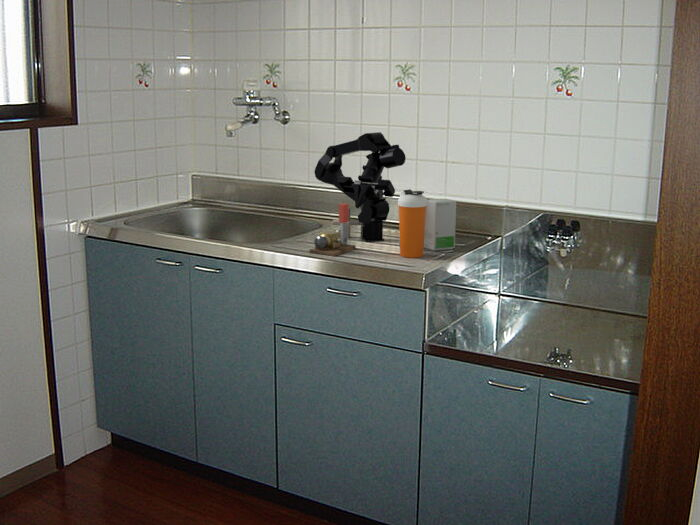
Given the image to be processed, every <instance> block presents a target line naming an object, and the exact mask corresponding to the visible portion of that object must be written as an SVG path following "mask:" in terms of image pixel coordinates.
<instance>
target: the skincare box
mask: <svg viewBox="0 0 700 525" xmlns="http://www.w3.org/2000/svg"><path fill="white" fill-rule="evenodd" d="M426 199H427V198H426ZM456 218H457V200H453V199H448V198H432V199H431V198H430V199H427V207H426V222H425V236H424V249H427V250H431V251H445V250H446V251H447V250H454V249H453V248H456V224H457V221H456V220H457V219H456Z"/></svg>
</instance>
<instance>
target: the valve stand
mask: <svg viewBox="0 0 700 525" xmlns="http://www.w3.org/2000/svg"><path fill="white" fill-rule="evenodd" d="M313 243H314V248H310V249H309V250H308V252H310V253H309V254H313V253H316V255H322V256H330V257H335V256H336V257H337V256H339V255H341V254H344V253H347V252H350V251H353V250H355V249H356V245H354V244H346V245H345V246H344V245H341V244H340V229H338V230H324V231H321V232H319V233H318V236H316V237H315V239H314V241H313Z"/></svg>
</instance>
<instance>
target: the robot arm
mask: <svg viewBox="0 0 700 525" xmlns="http://www.w3.org/2000/svg"><path fill="white" fill-rule="evenodd" d="M357 152H371V153H369V154H366V156H365V157H366V159H367V161H366V165H362V167H361V168H362V170H363V171H362V173H361V175H358V177H357V179H358V180H357V179H353V178H352V177H351V176H345V175H344V174H343V171H342V166H343V160H342V159H343V156H345V155H350V154H354V153H357ZM333 159H334V160H333ZM406 159H407V158H406V154H405V152H404V151H403V149H402V148H400V145H399V144H393V145H391V144H390V142H389V141H388V140H387V139H386V138H385V136H384V134H383V133H382V132H380V131H379V132H367V133H363V134H362V135H360V136H358V137H357V139H354V140H350V141H347V142H346V141H345V142H343V143H339V144H336V145H329V146H328V147H327V149H326V151H325V152H324V154H323V155H322V156H321V157H320V158H319V159H318V161H317V164H316V166H315V167H314V170H313V171H314V176H315V178H316V180H318V181H320V182H321V183H324V184H328V185H332V186H334V187H335V188H336V189H337V190H339V191H340V192H341V193H343V194H344V195H345V196H347V197H348V198H350V199H351V200H352V201H353V202H354V206H355V208H356V209H360V211H361V212H360V213H359V214H358V215H357V220H359V222H361V223H362V225H360V239H362V241H364V242H384V241H385V238H384V237H383V235H384V234H383V233H384V232H383V231H384V230H383V229H384V227H383V226H384V222H386V221H387V218H388V216H389V213H390V202H388V201H387V198H388V197H390V198H393V197H394V195H395V192H396V189H395V187H394V184H393V183H392V180H390V179H383V176H382V173H383V171H384V169H391V168H395V167H400V166H403V165H404V164H405V163H406ZM332 160H333V162H331V161H332Z"/></svg>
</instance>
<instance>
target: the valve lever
mask: <svg viewBox="0 0 700 525" xmlns="http://www.w3.org/2000/svg"><path fill="white" fill-rule="evenodd" d="M348 208H349V203H345V202H343V203H340V204H338V220H339V223H340V225H339V226H340V227H339V228H340V229H339V230H340V244H341V245H344V246H345V245H346V244H347V243H348V238H347V222H348ZM347 245H348V244H347Z"/></svg>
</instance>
